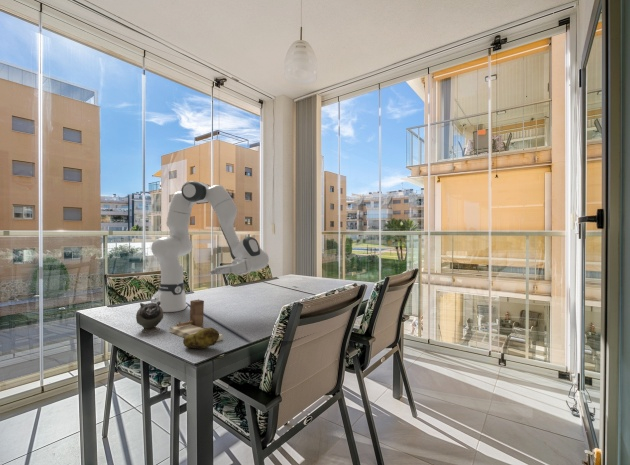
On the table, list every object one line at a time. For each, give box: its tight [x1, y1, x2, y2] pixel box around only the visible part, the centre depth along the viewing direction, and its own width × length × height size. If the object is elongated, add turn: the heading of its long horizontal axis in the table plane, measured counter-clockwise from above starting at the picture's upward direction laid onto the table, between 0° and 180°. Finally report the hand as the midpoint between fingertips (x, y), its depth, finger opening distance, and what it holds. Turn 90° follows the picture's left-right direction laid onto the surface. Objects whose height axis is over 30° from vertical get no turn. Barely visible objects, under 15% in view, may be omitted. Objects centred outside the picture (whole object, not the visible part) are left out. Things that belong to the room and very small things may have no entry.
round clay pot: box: [135, 301, 164, 333], centre depth 136 cm, size 10×12×10 cm
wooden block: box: [176, 299, 205, 328], centre depth 138 cm, size 4×11×12 cm, turn 145°
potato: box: [182, 327, 220, 350], centre depth 117 cm, size 8×13×8 cm, turn 61°
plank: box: [169, 324, 223, 342], centre depth 131 cm, size 24×8×2 cm, turn 55°
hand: (215, 272), depth 150 cm, fingers open, 8 cm apart
